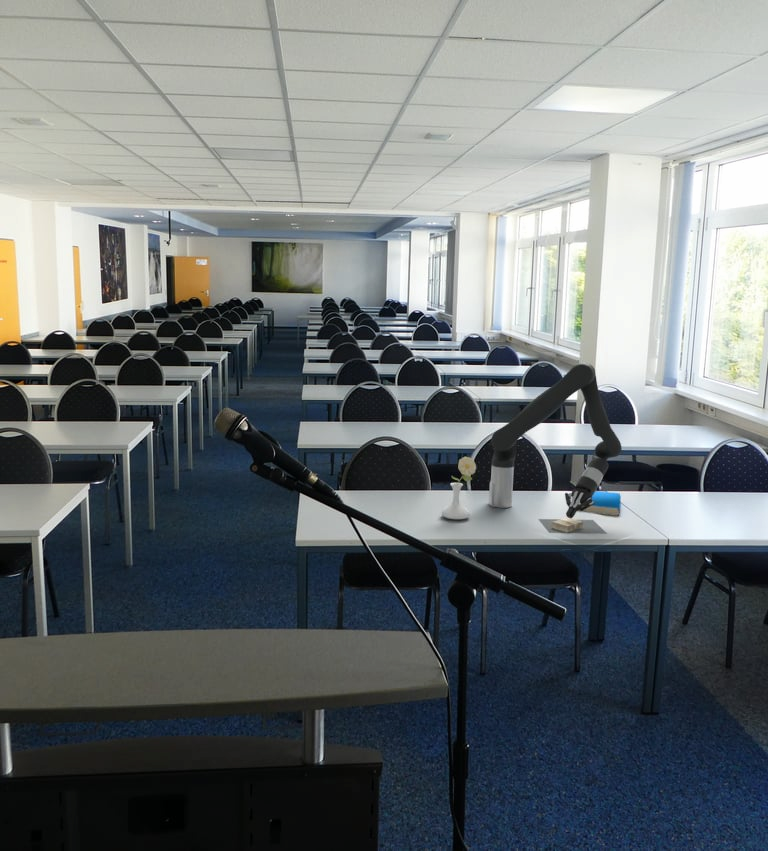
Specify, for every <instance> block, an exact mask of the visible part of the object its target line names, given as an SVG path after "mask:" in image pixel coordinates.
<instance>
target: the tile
mask: <svg viewBox="0 0 768 851" xmlns="http://www.w3.org/2000/svg"><path fill="white" fill-rule="evenodd" d="M560 519H561V518H560ZM579 520H580V519H575V518H568V517H565V518H562V519H561V520H557V521H554V522H552V528H554V529H557V530H561V531H564V532H570V531H573V530H577V529H580V528H583V522H582V521H579Z"/></svg>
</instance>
